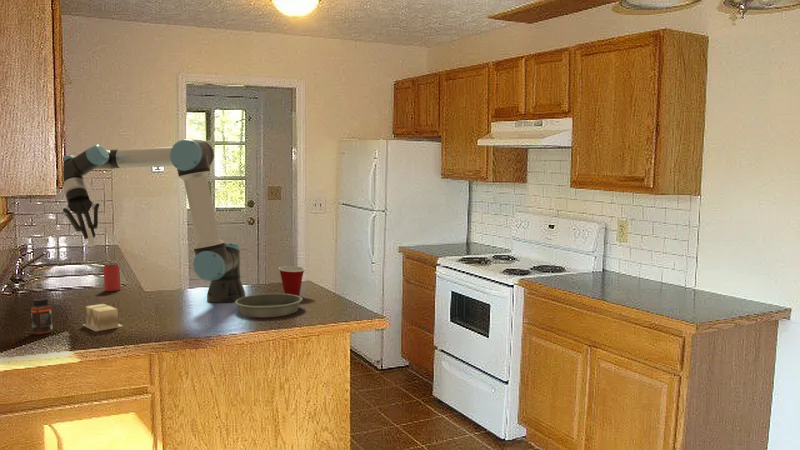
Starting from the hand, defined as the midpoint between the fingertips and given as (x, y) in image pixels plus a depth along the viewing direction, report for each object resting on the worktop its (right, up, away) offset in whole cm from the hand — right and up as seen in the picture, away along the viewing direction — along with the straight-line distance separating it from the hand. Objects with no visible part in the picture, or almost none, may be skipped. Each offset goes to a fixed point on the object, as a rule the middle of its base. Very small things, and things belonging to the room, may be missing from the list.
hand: (92, 244), depth 247 cm
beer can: (-14, -22, +50) cm, 56 cm away
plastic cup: (+69, -22, +30) cm, 78 cm away
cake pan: (+64, -25, +3) cm, 69 cm away
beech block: (+7, -24, -13) cm, 27 cm away
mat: (+11, -27, -17) cm, 34 cm away
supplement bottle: (-5, -28, -25) cm, 38 cm away
